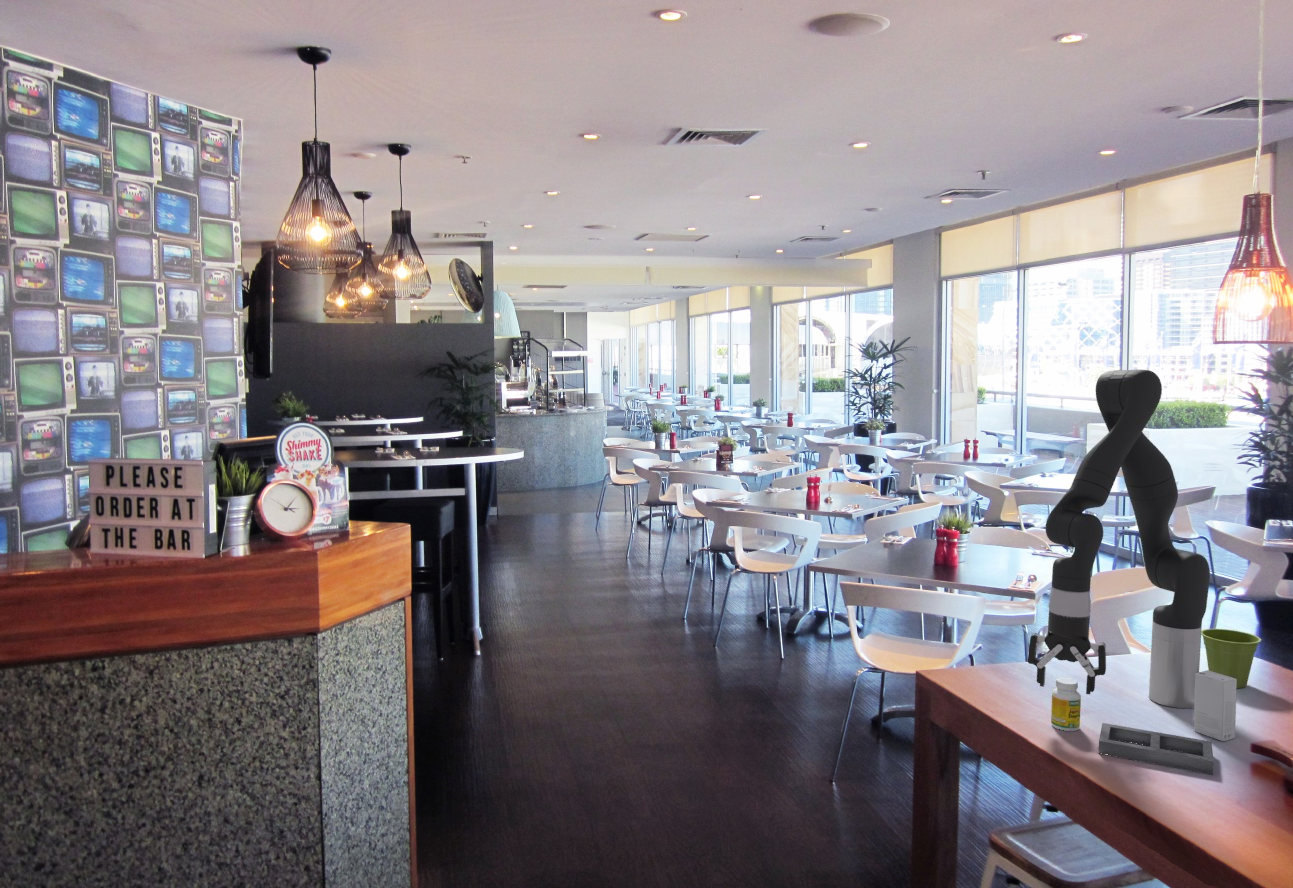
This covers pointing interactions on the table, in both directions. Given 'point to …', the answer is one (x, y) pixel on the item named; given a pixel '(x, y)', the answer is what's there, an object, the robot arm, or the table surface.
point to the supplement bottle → (1066, 705)
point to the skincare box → (1215, 705)
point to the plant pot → (1230, 653)
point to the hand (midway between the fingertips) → (1064, 689)
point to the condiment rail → (1157, 748)
